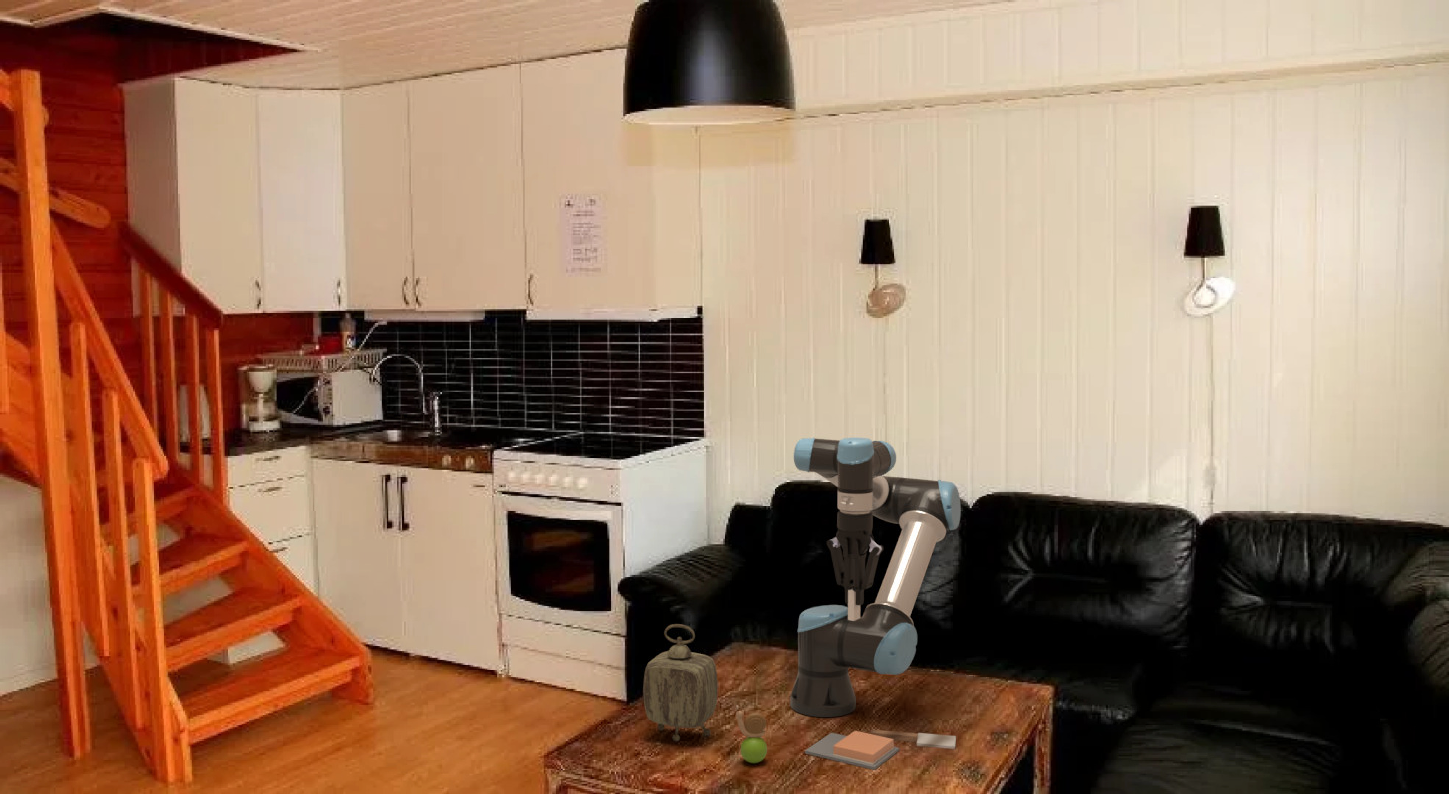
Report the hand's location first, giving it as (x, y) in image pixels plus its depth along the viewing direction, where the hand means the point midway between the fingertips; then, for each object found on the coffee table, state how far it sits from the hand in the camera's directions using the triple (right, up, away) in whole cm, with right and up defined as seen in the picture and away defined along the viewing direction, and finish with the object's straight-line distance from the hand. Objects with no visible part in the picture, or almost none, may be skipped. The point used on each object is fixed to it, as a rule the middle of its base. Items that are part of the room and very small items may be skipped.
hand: (854, 619), depth 259 cm
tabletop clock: (-38, -26, +1) cm, 46 cm away
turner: (+13, -26, 0) cm, 29 cm away
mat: (-1, -27, -7) cm, 27 cm away
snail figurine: (-22, -27, -12) cm, 37 cm away
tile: (-3, -25, -6) cm, 26 cm away
